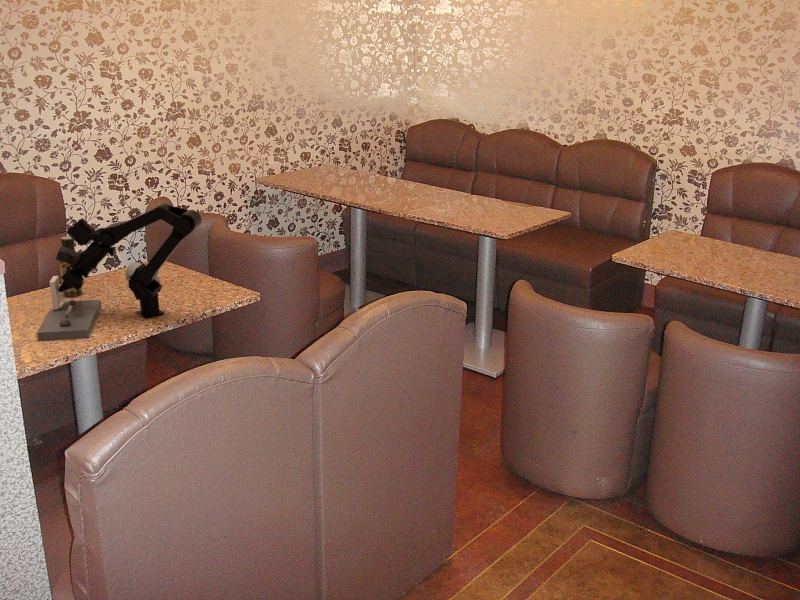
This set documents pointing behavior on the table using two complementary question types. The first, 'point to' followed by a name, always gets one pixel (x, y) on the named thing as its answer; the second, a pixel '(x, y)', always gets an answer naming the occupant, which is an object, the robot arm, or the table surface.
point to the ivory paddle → (55, 293)
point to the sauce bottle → (69, 244)
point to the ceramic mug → (132, 268)
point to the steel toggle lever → (69, 308)
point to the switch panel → (70, 321)
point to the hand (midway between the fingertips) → (59, 291)
